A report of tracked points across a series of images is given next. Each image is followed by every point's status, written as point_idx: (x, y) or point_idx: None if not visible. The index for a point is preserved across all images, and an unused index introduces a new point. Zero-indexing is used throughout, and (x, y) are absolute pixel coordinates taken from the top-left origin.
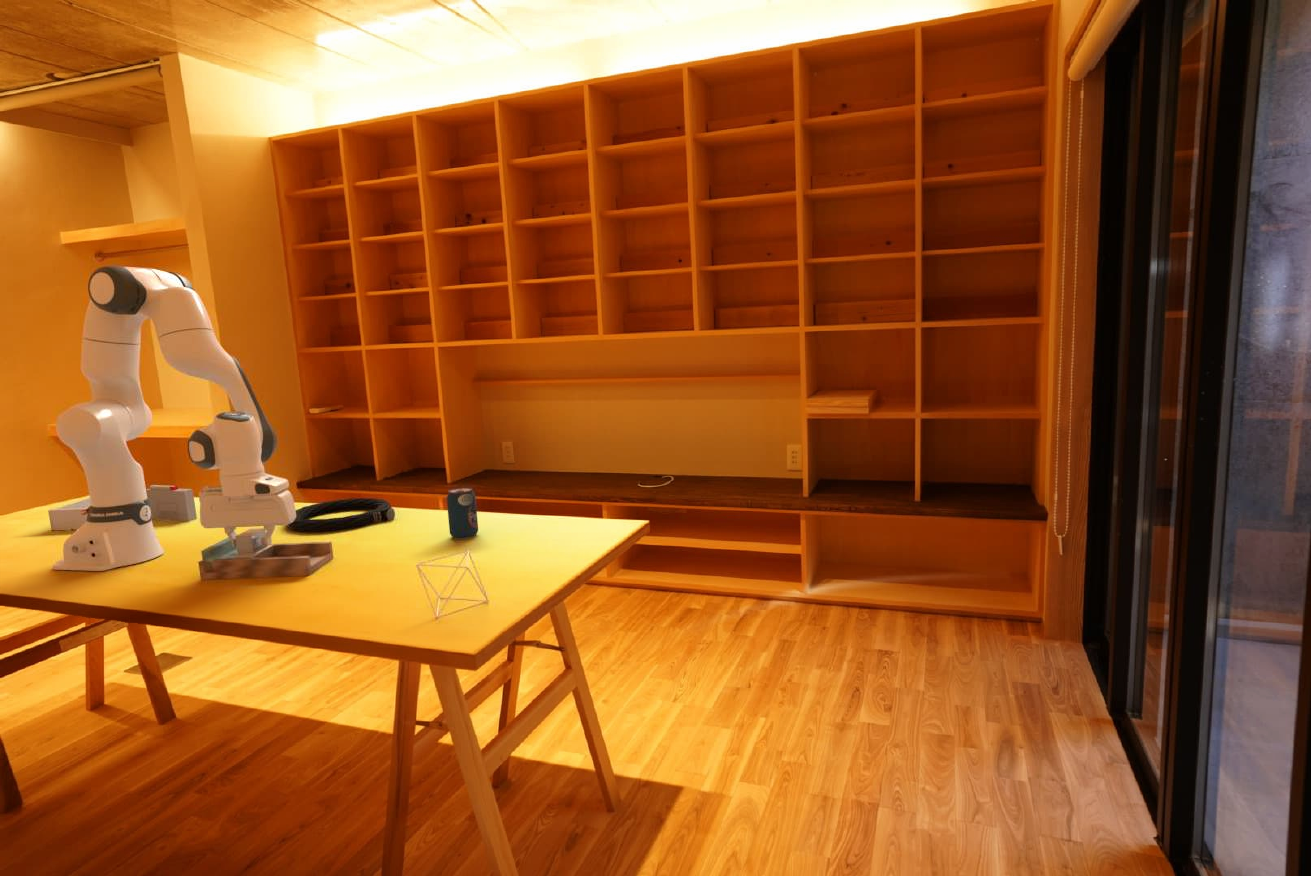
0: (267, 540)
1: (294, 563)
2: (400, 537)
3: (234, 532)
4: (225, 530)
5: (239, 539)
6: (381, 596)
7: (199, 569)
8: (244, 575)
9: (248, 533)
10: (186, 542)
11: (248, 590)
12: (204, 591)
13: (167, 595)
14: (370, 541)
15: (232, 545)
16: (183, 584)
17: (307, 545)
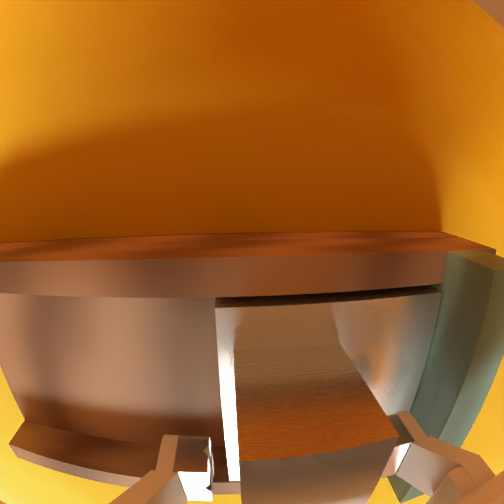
0: (160, 456)
1: None
2: (28, 495)
3: (424, 487)
4: (481, 465)
5: (353, 422)
6: None
7: (471, 241)
8: (250, 235)
9: (309, 498)
10: (498, 465)
11: (126, 56)
12: (343, 63)
13: (452, 65)
14: (66, 501)
15: (406, 411)
16: (472, 183)
17: (80, 461)
